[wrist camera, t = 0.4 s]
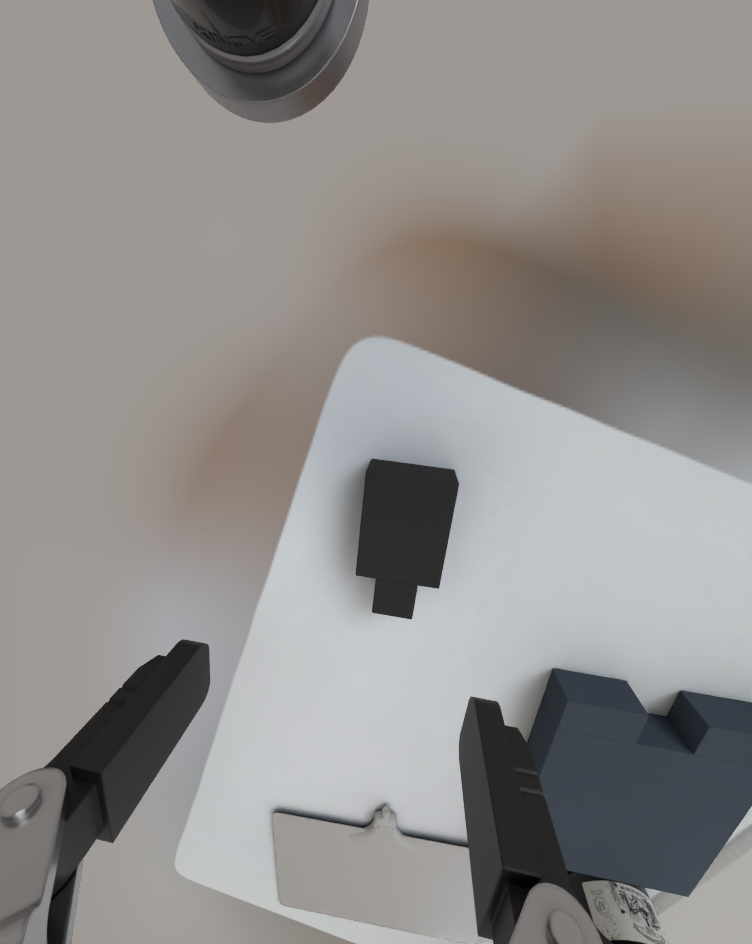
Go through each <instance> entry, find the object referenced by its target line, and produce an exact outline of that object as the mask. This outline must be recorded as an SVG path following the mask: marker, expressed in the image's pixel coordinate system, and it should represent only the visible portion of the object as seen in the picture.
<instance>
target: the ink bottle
mask: <svg viewBox="0 0 752 944" xmlns="http://www.w3.org/2000/svg"><path fill="white" fill-rule="evenodd" d="M568 876H569V880H570V882H571V885H572V888H573V890H574V892H575V895H576V897H577V899H578V901H579V902H580V904H581V905H582V907H583V908H584V909H585V911H586V912H587V913H588V915H589V916H590V918H591V920H592V921H593V923H594V925H595V926H596V927H597V928H598V929H599V930H600V932H601V933H602V934H603V935H604V936H605V937H606V938H607V939H608V940H610V941H611V942H612V943H613V944H670V943H669V941H668V938H667V936H666V934H665V932H664V930H663V927H662V925H661V923H660V921H659V919H658V916H657V913H656V911H655V908H654V906H653V904H652V902H651V900H650V898H649V896H648V894H647V892H646V890H645V889H644V887H641V886H636V885H632V884H627V883H623V882H618V881H613V880H609V879H604V878H600V877H595V876H591V875H586V874H581V873H577V872H573V873H571V874H569V875H568Z"/></svg>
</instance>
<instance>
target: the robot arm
mask: <svg viewBox="0 0 752 944" xmlns="http://www.w3.org/2000/svg"><path fill="white" fill-rule="evenodd" d="M170 1H171V3H172V5H173V7H174V8H175V10H176V12H177V14H178V15H179V17H180V18H181V20H182V21H183V23H184V24H185V25H186V27H187V28H188V30H189V31H190V33H191V34H192V36H193V37H194V38H195V40H196V41H197V42H198V43H199V45H200V46H201V47H202V48H203V49H204V50H205V51H206V52H207V53H208V54H209V55H210V56H212V57H213V58H214V59H215V60H217V61H218V62H220V63H221V64H223V65H225V66H227V67H229V68H232V69H234V70H237V71H241V72H247V73H262V72H268V71H272V70H275V69H278V68H280V67H282V66H284V65H286V64H287V63H289V62H291V61H292V60H293V59H295V58H296V57H297V56H298V55H299V54H301V53H302V52H303V51H304V50H305V49H306V47H307V46H308V45H309V44H310V43H311V41H312V40H313V39H314V37H315V36H316V34H317V33H318V31H319V29H320V28H321V26H322V24H323V22H324V20H325V18H326V16H327V13H328V11H329V8H330V6H331V3H332V0H170ZM209 685H210V665H209V646H208V644H205V643H200V642H194V641H189V640H181V641H179V642H178V643H177V644H176V645H175V647H174V648H173V649H172V650H171V651H170V652H169V653H168V655H167V656H161V655H158V656H156V657H155V658H153V659H151V660H150V661H149V662H147V663H146V664H144V665H142V666H141V667H139V668H138V669H137V670H136V671H135V672H134V673H133V674H132V676H131V677H130V678H129V679H128V680H127V681H126V682H125V683H124V684H123V687H122V688H119V689H118V690H117V692H116V693H115V694H114V695H113V696H112V697H111V698H110V700H109V702H106V703H105V704H104V705H103V706H102V708H101V709H100V710H99V711H98V712H97V713H96V714H95V715H94V716H93V717H92V718H91V719H90V720H89V721H88V723H87V724H86V725H85V726H84V727H83V728H82V729H81V730H80V731H79V732H78V733H77V734H76V735H75V736H74V737H73V739H72V740H71V741H70V742H69V743H68V744H67V745H66V746H65V747H64V748H63V749H62V750H61V751H60V752H59V753H58V754H57V756H56V757H55V758H54V759H53V760H52V761H51V762H50V763H49V764H48V765H46V766H45V767H44V768H41V769H37V770H33V771H31V772H28V773H26V774H24V775H22V776H20V777H18V778H16V779H15V780H13V781H12V782H10V783H8V784H7V785H6V786H4V787H3V788H2V789H0V944H71V942H72V936H73V928H74V922H75V915H76V909H77V901H78V895H79V888H80V881H81V874H82V867H83V858H84V856H85V855H86V853H87V852H88V850H89V849H90V848H91V846H92V845H93V843H94V842H95V840H96V839H99V840H103V841H107V842H111V843H113V842H114V840H115V839H116V837H117V836H118V834H119V833H120V831H121V829H122V828H123V826H124V824H125V823H126V822H127V820H128V819H129V817H130V816H131V814H132V813H133V811H134V809H135V808H136V806H137V805H138V803H139V802H140V800H141V799H142V797H143V795H144V794H145V792H146V791H147V789H148V788H149V786H150V785H151V783H152V782H153V780H154V778H155V777H156V775H157V774H158V772H159V770H160V769H161V767H162V766H163V764H164V763H165V761H166V760H167V758H168V757H169V755H170V754H171V752H172V751H173V749H174V747H175V746H176V744H177V743H178V741H179V740H180V738H181V737H182V735H183V733H184V732H185V730H186V729H187V727H188V726H189V724H190V723H191V721H192V719H193V718H194V716H195V715H196V713H197V712H198V710H199V709H200V707H201V706H202V704H203V702H204V700H205V698H206V695H207V693H208V689H209ZM459 762H460V771H461V781H462V790H463V800H464V810H465V819H466V829H467V838H468V848H469V857H470V867H471V876H472V886H473V895H474V905H475V914H476V924H477V933H478V936H480V937H484V938H488V939H492V940H493V944H613V943H612V942H611V941H610V940H608V939H607V938H606V937H605V936H604V935H603V934H602V933H601V932H600V930H599V929H598V928H597V927H596V926H595V925H594V923H593V921H592V920H591V918H590V916H589V915H588V913H587V912H586V911H585V909H584V908H583V907H582V905H581V904H580V902H579V901H578V899H577V897H576V895H575V892H574V890H573V888H572V885H571V882H570V880H569V876H568V873H567V870H566V866H565V863H564V860H563V856H562V853H561V849H560V846H559V843H558V839H557V836H556V833H555V829H554V826H553V822H552V819H551V816H550V812H549V809H548V806H547V802H546V799H545V798H544V795H543V794H544V792H543V789H542V785H541V782H540V779H539V777H538V772H537V768H536V765H535V762H534V758H533V755H532V752H531V749H530V747H529V746H528V744H527V742H526V741H525V739H524V738H523V736H522V735H521V733H520V731H519V730H518V728H515V727H510V726H505V725H504V721H503V717H502V713H501V709H500V706H499V703H498V702H496V701H491V700H486V699H481V698H476V697H470V699H469V702H468V706H467V710H466V714H465V718H464V722H463V725H462V729H461V733H460V740H459Z"/></svg>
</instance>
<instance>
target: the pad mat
mask: <svg viewBox="0 0 752 944" xmlns="http://www.w3.org/2000/svg"><path fill="white" fill-rule="evenodd" d="M527 744H528V746H529V747H530V749H531V752H532V755H533V758H534V762H535V765H536V768H537V772H538V777H539V779H540V782H541V785H542V789H543V792H544V794H543V795H544V798H545V799H546V802H547V806H548V809H549V812H550V816H551V819H552V822H553V826H554V829H555V833H556V836H557V839H558V843H559V846H560V849H561V853H562V856H563V860H564V863H565V866H566V870H568V871H572V872H577V873H581V874H586V875H591V876H595V877H600V878H604V879H609V880H613V881H618V882H623V883H627V884H632V885H636V886H641V887H645V888H650V889H655V890H659V891H664V892H668V893H673V894H678V895H682V896H687V897H688V896H689V895H690V894H691V892H692V891H693V889H694V888H695V887H696V885H697V884H698V882H699V881H700V879H701V878H702V877H703V875H704V874H705V872H706V871H707V869H708V868H709V867H710V865H711V864H712V862H713V861H714V859H715V858H716V856H717V855H718V854H719V852H720V851H721V849H722V848H723V846H724V845H725V844H726V842H727V841H728V839H729V838H730V836H731V835H732V834H733V832H734V831H735V829H736V828H737V826H738V825H739V823H740V822H741V821H742V819H743V818H744V816H745V815H746V813H747V812H748V811H749V809H750V808H751V806H752V703H748V702H743V701H737V700H731V699H725V698H720V697H714V696H708V695H702V694H697V693H691V692H685V691H680V693H679V695H678V697H677V699H676V701H675V703H674V705H673V707H672V709H671V711H670V713H669V715H668V717H662V716H657V715H651V714H647V712H646V711H645V709H644V707H643V706H642V704H641V703H640V701H639V700H638V698H637V697H636V695H635V694H634V692H633V691H632V689H631V688H630V686H629V684H628V683H627V682H626V681H623V680H617V679H611V678H605V677H600V676H594V675H588V674H582V673H577V672H571V671H565V670H560V669H553V671H552V674H551V676H550V679H549V682H548V685H547V688H546V691H545V694H544V697H543V700H542V703H541V706H540V709H539V711H538V714H537V717H536V720H535V723H534V726H533V729H532V732H531V734H530V737H529V740H528V743H527Z"/></svg>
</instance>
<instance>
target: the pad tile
mask: <svg viewBox="0 0 752 944" xmlns="http://www.w3.org/2000/svg"><path fill="white" fill-rule="evenodd" d="M458 486H459V483H458V480H457V477H456V474H455V471H454V470H452V469H444V468H437V467H429V466H422V465H415V464H407V463H400V462H392V461H385V460H377V459H372V460H371V462H370V464H369V466H368V469H367V471H366V478H365V488H364V497H363V507H362V517H361V527H360V537H359V547H358V557H357V567H356V575H357V576H363V577H370V578H376V584H375V592H374V600H373V608H372V612H373V613H377V614H383V615H389V616H395V617H401V618H407V619H412V616H413V610H414V604H415V598H416V592H417V586H418V585H419V586H425V587H432V588H439V585H440V580H441V575H442V569H443V564H444V559H445V554H446V549H447V543H448V538H449V533H450V528H451V523H452V517H453V512H454V507H455V502H456V497H457V492H458Z"/></svg>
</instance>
